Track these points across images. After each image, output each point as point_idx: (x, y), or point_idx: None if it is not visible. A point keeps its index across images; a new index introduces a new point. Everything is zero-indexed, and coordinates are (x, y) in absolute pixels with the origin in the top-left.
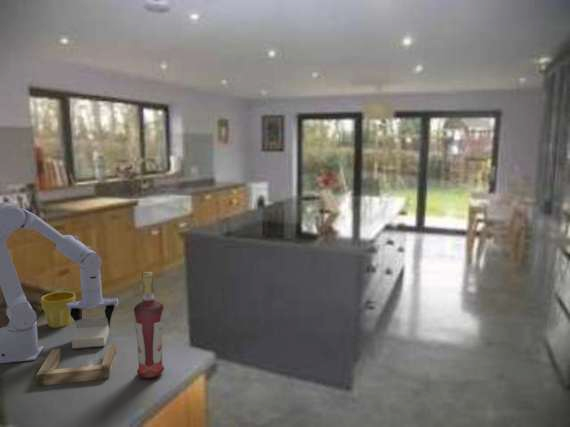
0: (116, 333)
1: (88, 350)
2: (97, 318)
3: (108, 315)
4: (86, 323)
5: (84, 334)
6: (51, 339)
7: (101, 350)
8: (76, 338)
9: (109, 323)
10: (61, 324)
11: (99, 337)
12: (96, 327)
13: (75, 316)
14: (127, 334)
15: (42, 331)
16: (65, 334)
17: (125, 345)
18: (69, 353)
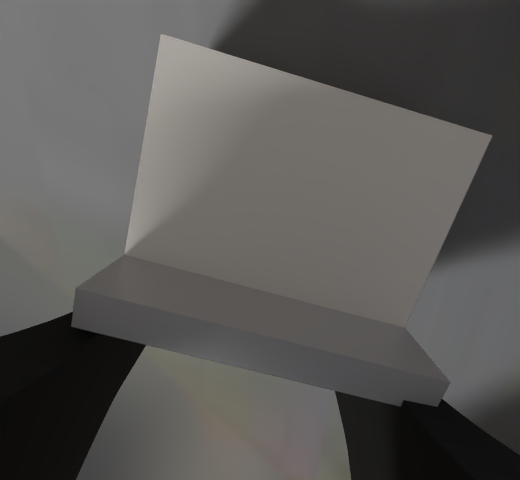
0: None
1: (318, 68)
2: (195, 348)
3: (37, 342)
4: (324, 328)
5: (352, 184)
6: (502, 351)
7: (219, 17)
8: (438, 141)
9: None
10: None
11: (206, 52)
12: (230, 268)
13: (484, 453)
14: (59, 235)
15: None
16: None
17: (35, 39)
18: (466, 73)
